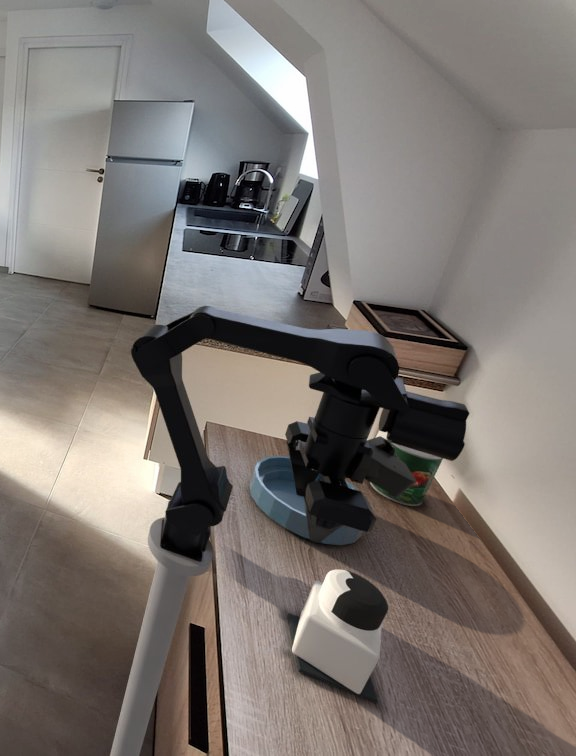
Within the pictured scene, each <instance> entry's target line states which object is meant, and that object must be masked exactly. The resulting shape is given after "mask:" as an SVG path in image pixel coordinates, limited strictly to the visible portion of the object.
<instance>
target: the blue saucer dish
mask: <svg viewBox="0 0 576 756" xmlns="http://www.w3.org/2000/svg"><path fill="white" fill-rule="evenodd" d="M318 480H320V481H323V480H322V478H321V475H320V474H319V475H318V477H317V479H316V480H315V481H318ZM345 481H346V483H347V485H348V488H350V489H354V490H358V489H357V487H356V486H354V485H353V484H352V483H350V482H349V481H347V480H346V479H345ZM248 486H249V493H250V496H251V497H252V499H253V501H254V502H255V504H256V506H257V507H258V508H259V509H260V510H261V511H262V512H263V513H264V514H265V515H266V516H267V517H268V518H270V519H271V520H272V521H274V522H276V523H277V524H278V525H280V526H281V527H283V528H284V529H285V530H287V531H290V532H292V533H294V534H295V535H298V536H300V537H302V538H304V539H307V540H310V538H309V533H308V526H307V519H306V512H305V505H304V498H303V497H302V496H299V495H297V494H296V489H295V484H294V478H293V473H292V468H291V463H290V458H289V456H285V455H271V456H265V457H263V458H261V459H259V460H258V461H257V462H256V464H255V466H254V468H253V471H252V475H251V478H250V481H249V484H248ZM363 534H364V531H361V530H358V529H355V528H351V527H348V526H342V527H340V528H338V529H337V530H335V531H334V532H333V533H332V534H330V535H329V536H328V537H326V538H325V539H324V540H323V541H321V542H320V543H319V544H324V545H325V544H326V545H335V546H345V545H350V544H351V545H352V544H354V543H355V542H357V541H358V540H359V539H360V538H362V535H363Z"/></svg>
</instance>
